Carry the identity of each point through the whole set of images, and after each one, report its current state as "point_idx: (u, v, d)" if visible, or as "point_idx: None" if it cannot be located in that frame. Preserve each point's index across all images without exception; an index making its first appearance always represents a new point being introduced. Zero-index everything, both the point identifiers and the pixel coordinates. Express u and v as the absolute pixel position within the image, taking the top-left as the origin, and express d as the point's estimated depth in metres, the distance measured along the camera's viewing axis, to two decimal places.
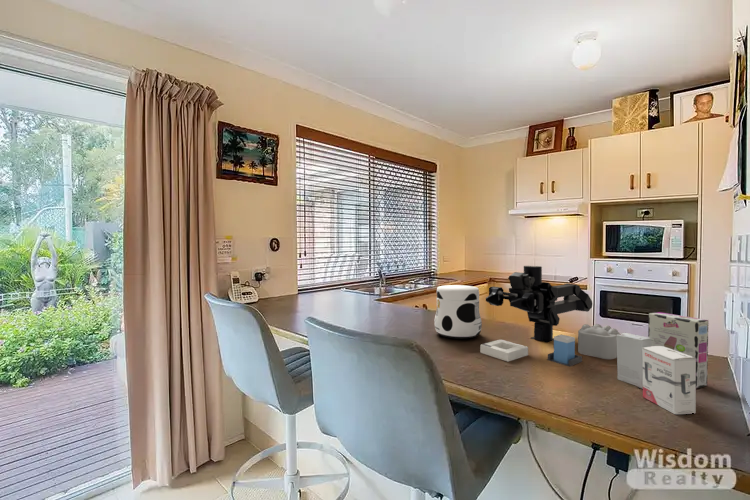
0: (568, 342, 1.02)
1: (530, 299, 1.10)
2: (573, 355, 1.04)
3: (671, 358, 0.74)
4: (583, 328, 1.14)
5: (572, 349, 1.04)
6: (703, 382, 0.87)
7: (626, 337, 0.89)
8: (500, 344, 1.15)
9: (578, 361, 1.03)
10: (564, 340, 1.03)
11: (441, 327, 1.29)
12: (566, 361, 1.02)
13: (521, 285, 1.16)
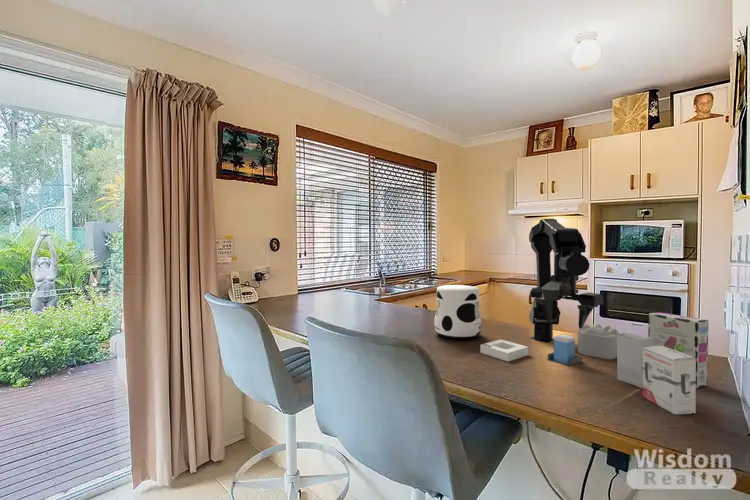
0: (568, 342, 1.02)
1: None
2: (573, 355, 1.04)
3: (671, 358, 0.74)
4: (583, 328, 1.14)
5: (572, 349, 1.04)
6: (703, 382, 0.87)
7: (626, 337, 0.89)
8: (500, 344, 1.15)
9: (578, 361, 1.03)
10: (564, 340, 1.03)
11: (441, 326, 1.29)
12: (566, 361, 1.02)
13: None
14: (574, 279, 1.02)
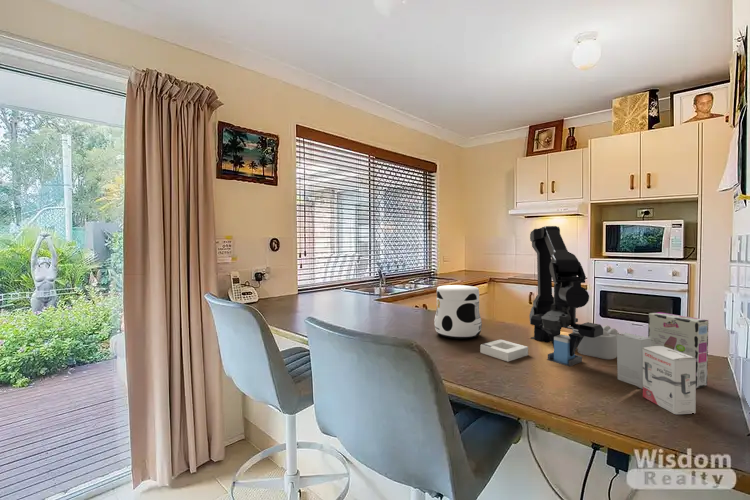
0: (568, 342, 1.02)
1: None
2: (573, 355, 1.04)
3: (671, 358, 0.74)
4: None
5: None
6: (703, 382, 0.87)
7: (626, 337, 0.89)
8: (500, 344, 1.15)
9: (578, 361, 1.03)
10: (564, 340, 1.03)
11: (441, 327, 1.29)
12: (566, 361, 1.02)
13: None
14: (574, 309, 1.02)
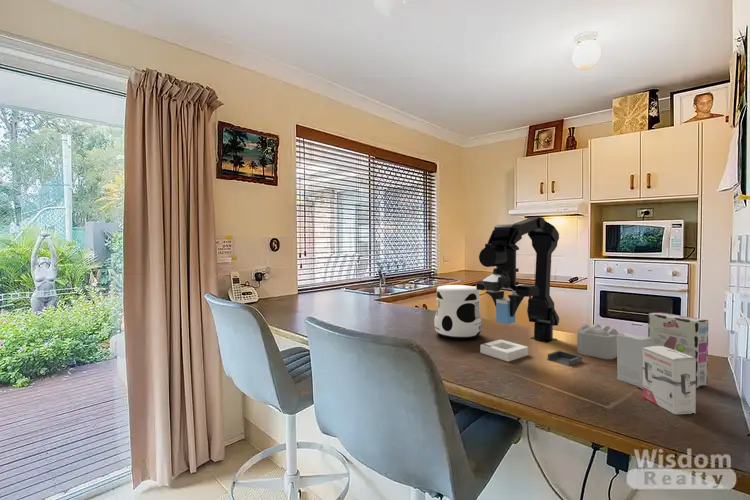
0: (508, 304, 1.08)
1: None
2: (514, 316, 1.10)
3: (671, 358, 0.74)
4: (582, 328, 1.14)
5: None
6: (703, 382, 0.87)
7: (626, 337, 0.89)
8: (500, 344, 1.15)
9: (578, 361, 1.03)
10: (504, 302, 1.09)
11: (441, 327, 1.29)
12: (506, 321, 1.08)
13: None
14: (513, 272, 1.08)
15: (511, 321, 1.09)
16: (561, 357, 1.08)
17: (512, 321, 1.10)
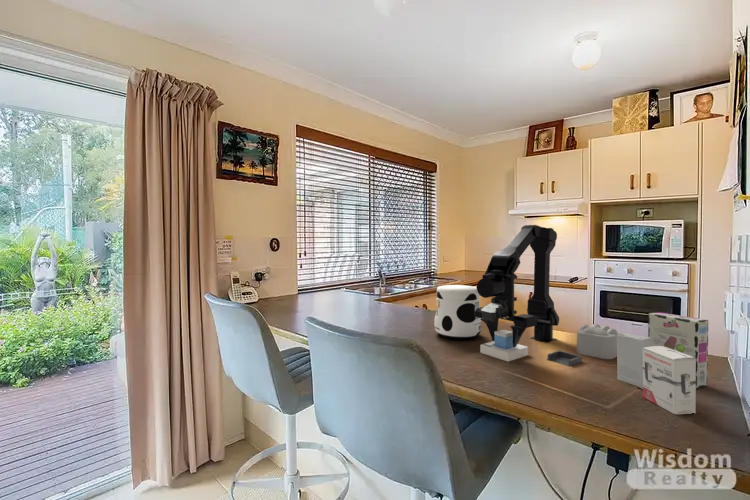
0: (506, 337, 1.09)
1: None
2: None
3: (671, 358, 0.74)
4: (582, 328, 1.14)
5: (511, 343, 1.10)
6: (703, 382, 0.87)
7: (626, 337, 0.89)
8: None
9: (578, 361, 1.03)
10: (503, 335, 1.09)
11: (441, 327, 1.29)
12: None
13: None
14: (511, 301, 1.09)
15: None
16: (561, 357, 1.08)
17: None
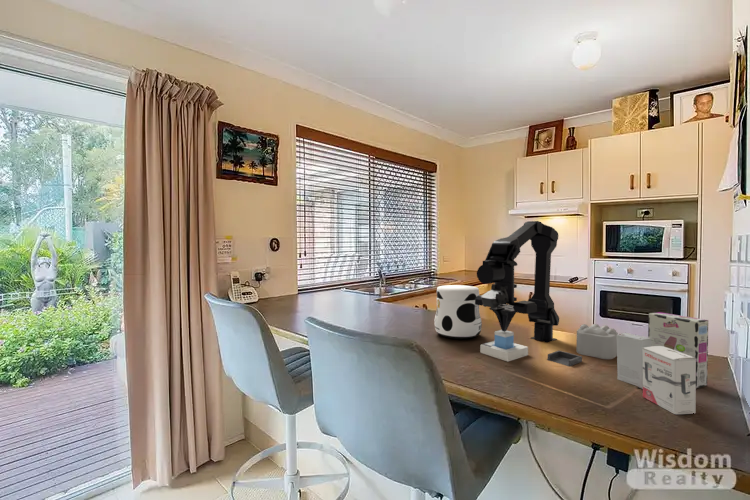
0: (506, 337, 1.09)
1: None
2: None
3: (671, 358, 0.74)
4: (581, 328, 1.14)
5: (511, 343, 1.10)
6: (703, 382, 0.87)
7: (626, 337, 0.89)
8: None
9: (578, 361, 1.03)
10: (503, 335, 1.09)
11: (441, 327, 1.29)
12: None
13: None
14: (512, 288, 1.09)
15: None
16: (561, 357, 1.08)
17: None
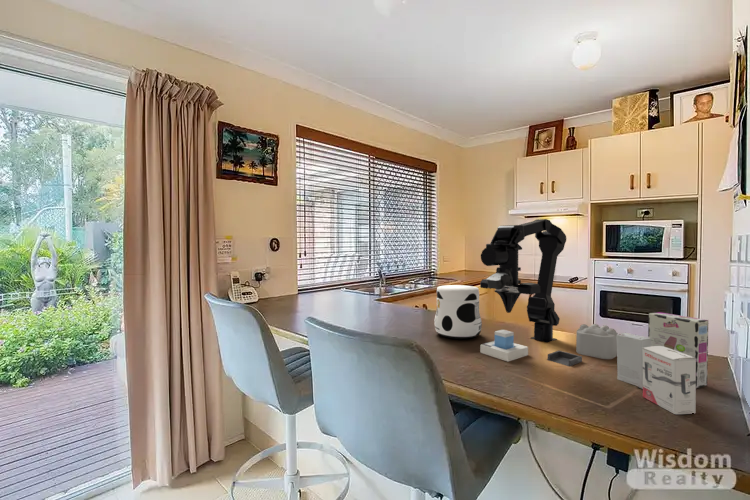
0: (506, 337, 1.09)
1: None
2: None
3: (671, 358, 0.74)
4: (581, 328, 1.14)
5: (511, 343, 1.10)
6: (703, 382, 0.87)
7: (626, 337, 0.89)
8: None
9: (578, 361, 1.03)
10: (503, 335, 1.09)
11: (441, 327, 1.29)
12: None
13: None
14: (516, 270, 1.13)
15: None
16: (561, 357, 1.08)
17: None
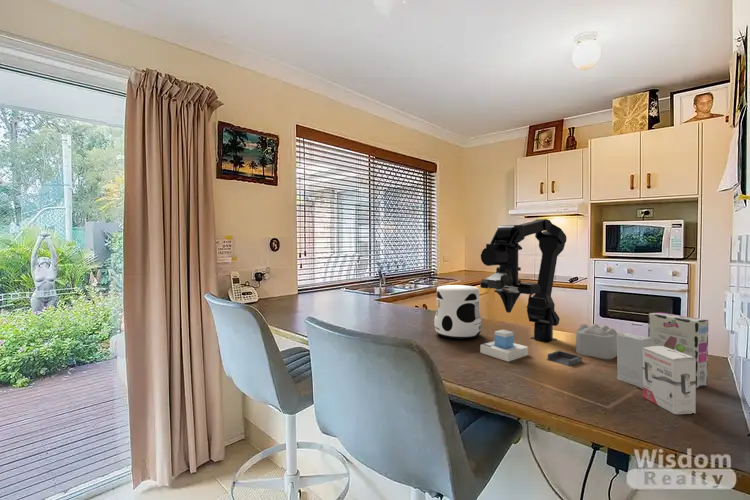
0: (506, 337, 1.09)
1: None
2: None
3: (671, 358, 0.74)
4: (581, 328, 1.14)
5: (511, 343, 1.10)
6: (703, 382, 0.87)
7: (626, 337, 0.89)
8: None
9: (578, 361, 1.03)
10: (503, 335, 1.09)
11: (441, 327, 1.29)
12: None
13: None
14: (516, 270, 1.13)
15: None
16: (561, 357, 1.08)
17: None
